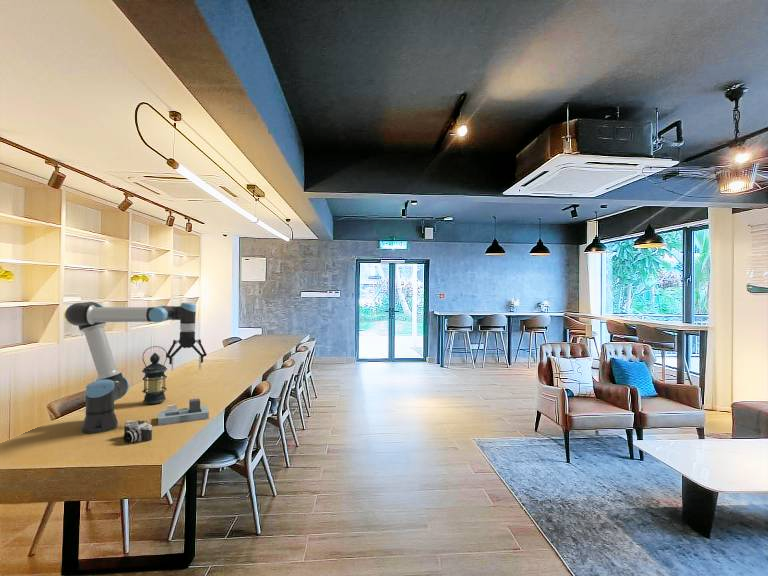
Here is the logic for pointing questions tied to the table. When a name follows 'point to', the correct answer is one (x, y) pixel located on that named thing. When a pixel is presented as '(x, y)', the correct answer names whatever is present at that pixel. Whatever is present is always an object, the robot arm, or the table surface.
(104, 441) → the table surface
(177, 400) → the table surface
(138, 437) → the camera
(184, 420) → the socket block
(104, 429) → the robot arm
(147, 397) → the lantern
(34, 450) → the table surface
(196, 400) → the plug
